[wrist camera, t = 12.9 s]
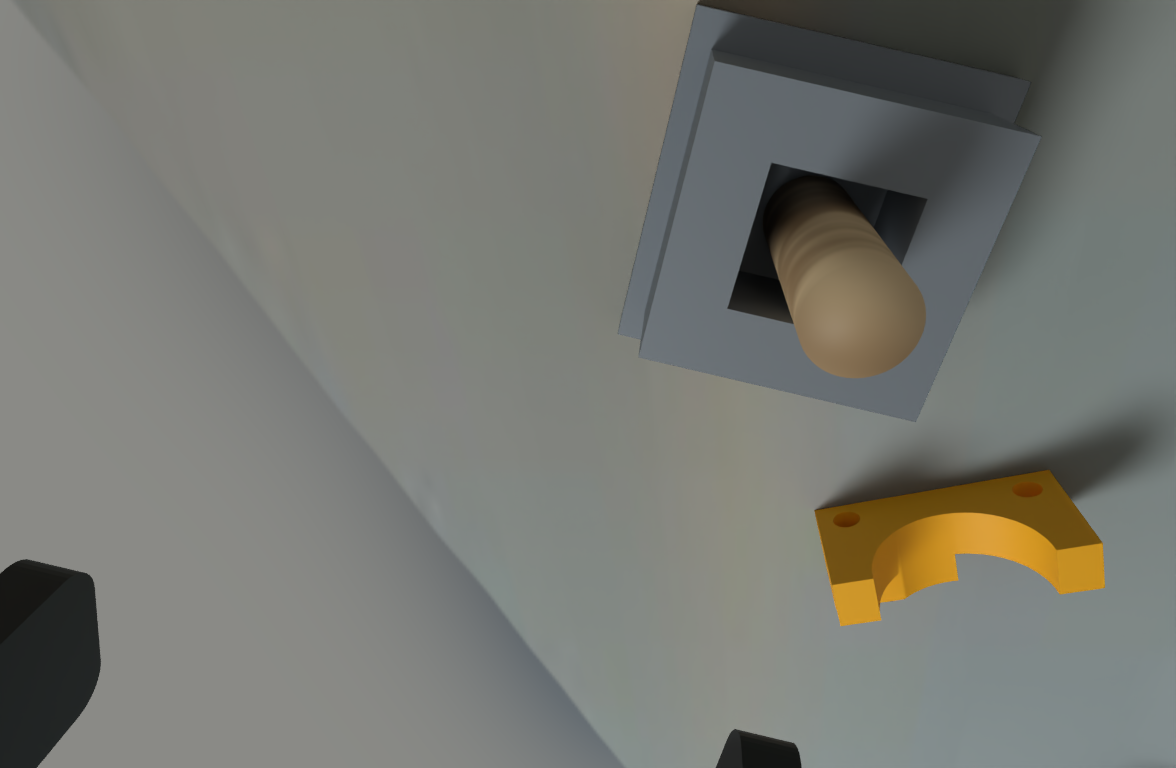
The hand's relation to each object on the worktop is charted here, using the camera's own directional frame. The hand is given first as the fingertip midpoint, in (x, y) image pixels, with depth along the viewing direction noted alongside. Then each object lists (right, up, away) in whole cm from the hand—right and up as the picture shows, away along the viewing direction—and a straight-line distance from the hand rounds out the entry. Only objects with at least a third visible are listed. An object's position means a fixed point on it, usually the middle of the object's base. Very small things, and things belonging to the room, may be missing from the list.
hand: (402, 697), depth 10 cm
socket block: (+12, +12, +29) cm, 33 cm away
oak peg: (+12, +11, +27) cm, 32 cm away
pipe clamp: (+21, -4, +36) cm, 41 cm away
